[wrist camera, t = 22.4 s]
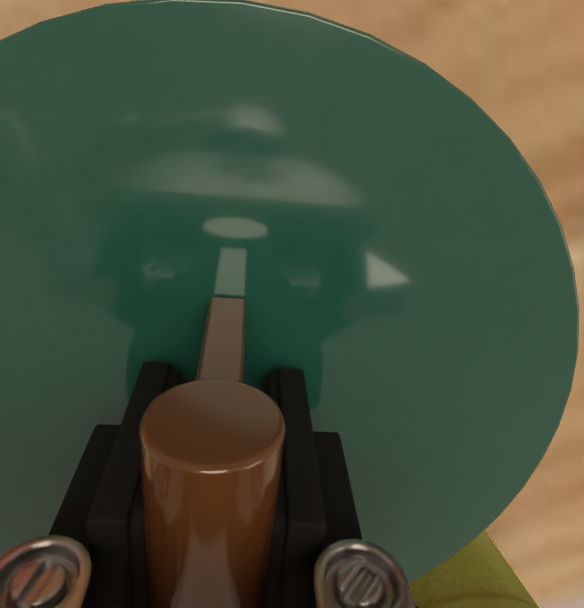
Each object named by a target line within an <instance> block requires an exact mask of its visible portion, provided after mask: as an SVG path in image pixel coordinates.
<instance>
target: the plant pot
mask: <svg viewBox="0 0 584 608" xmlns="http://www.w3.org/2000/svg"><path fill="white" fill-rule="evenodd" d="M408 584H409V588H410V591H411V594H412V598H413V601H414V604H415V605H416V606H417V607H419V608H539V607H538V606H537V604H536V603H535V602H534V600H533V599H532V597H531V596H530V594H529V593H528V592H527V590H526V589H525V587H524V586H523V585H522V583H521V582H520V580H519V579H518V577H517V576H516V575H515V573H514V572H513V570H512V569H511V567H510V566H509V564H508V563H507V562H506V560H505V559H504V557H503V556H502V554H501V553H500V551H499V550H498V549H497V547H496V546H495V544H494V543H493V541H492V540H491V538H490V537H489V536H488V534H487V533H486V531H485V530H484V531H483V532H482V533H481V534H480V535H479V536H478V537H476V538H475V539H474V540H473V541H472V542H471V543H469V544H468V545H467V546H465V547H464V548H463V549H461V550H460V551H459V552H457V553H456V554H455V555H453V556H452V557H451V558H450V559H448V560H447V561H446V562H444V563H442V564H441V565H439V566H437V567H436V568H434V569H433V570H431V571H429V572H428V573H426V574H425V575H423V576H421V577H420V578H418V579H416V580H414V581H412V582H410V583H408Z"/></svg>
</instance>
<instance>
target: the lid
mask: <svg viewBox="0 0 584 608" xmlns="http://www.w3.org/2000/svg"><path fill="white" fill-rule="evenodd" d="M578 336H579V305H578V297H577V289H576V281H575V274H574V267H573V264H572V260H571V257H570V254H569V250H568V247H567V244H566V240H565V237H564V233H563V230H562V227H561V224H560V221H559V219H558V217H557V215H556V213H555V211H554V209H553V207H552V205H551V203H550V201H549V199H548V197H547V195H546V192H545V190H544V188H543V186H542V184H541V182H540V180H539V179H538V177H537V176H536V175H535V173H534V172H533V170H532V169H531V167H530V166H529V165H528V163H527V162H526V160H525V159H524V157H523V156H522V155H521V153H520V152H519V150H518V149H517V147H516V146H515V145H514V143H513V142H512V140H511V139H510V138H509V137H508V136H507V135H506V134H505V133H504V132H503V130H502V129H501V128H500V127H499V126H498V125H497V124H496V123H495V122H494V121H493V120H492V119H491V118H490V117H489V116H488V115H487V114H486V113H485V112H484V111H483V110H482V109H481V108H480V107H479V106H478V105H477V104H476V103H475V102H474V101H473V100H472V99H471V98H470V97H469V96H467V95H466V94H465V93H463V92H462V91H461V90H459V89H458V88H457V87H455V86H454V85H453V84H451V83H450V82H449V81H447V80H446V79H445V78H443V77H442V76H441V75H439V74H438V73H437V72H435V71H434V70H433V69H431V68H430V67H429V66H427V65H426V64H425V63H423V62H421V61H419V60H417V59H415V58H413V57H412V56H410V55H408V54H406V53H404V52H402V51H400V50H399V49H397V48H395V47H393V46H391V45H389V44H387V43H385V42H384V41H382V40H380V39H378V38H376V37H374V36H372V35H370V34H368V33H365V32H362V31H360V30H357V29H354V28H351V27H348V26H345V25H343V24H340V23H337V22H334V21H331V20H329V19H326V18H323V17H320V16H317V15H314V14H312V13H309V12H304V11H299V10H294V9H289V8H283V7H278V6H273V5H268V4H263V3H258V2H252V1H247V0H138V1H129V2H120V3H111V4H104V5H100V6H97V7H93V8H89V9H86V10H82V11H78V12H75V13H71V14H67V15H64V16H60V17H56V18H53V19H49V20H45V21H42V22H39V23H37V24H35V25H32V26H30V27H28V28H26V29H24V30H21V31H19V32H17V33H15V34H13V35H10V36H8V37H6V38H4V39H2V40H0V558H1V557H2V556H3V555H4V554H5V553H6V552H7V551H9V550H10V549H12V548H14V547H16V546H17V545H19V544H21V543H23V542H25V541H28V540H31V539H34V538H37V537H40V536H48V535H49V532H50V530H51V528H52V525H53V523H54V521H55V518H56V516H57V514H58V511H59V509H60V507H61V504H62V502H63V500H64V497H65V495H66V492H67V490H68V488H69V485H70V483H71V481H72V478H73V476H74V474H75V471H76V469H77V467H78V464H79V462H80V460H81V457H82V455H83V453H84V450H85V448H86V446H87V443H88V441H89V439H90V436H91V434H92V432H93V430H94V428H95V426H97V425H98V424H108V425H121V422H122V420H123V417H124V414H125V411H126V408H127V406H128V403H129V400H130V397H131V395H132V392H133V389H134V386H135V383H136V381H137V378H138V375H139V372H140V370H141V367H142V364H143V363H144V362H157V363H171V366H172V370H180V371H181V384H179V385H177V386H174V387H172V388H170V389H168V390H166V391H165V392H163V393H162V394H160V395H159V396H158V397H156V398H155V399H154V400H153V401H152V402H151V403H150V405H149V406H148V408H147V409H146V411H145V413H144V415H143V417H142V420H141V423H140V453H141V475H142V497H143V519H144V539H145V561H146V583H147V606H148V608H264V605H265V597H266V588H267V579H268V571H269V562H270V553H271V545H272V537H273V530H274V523H275V517H276V508H277V499H278V491H279V482H280V474H281V465H282V456H283V448H284V439H285V421H284V418H283V415H282V412H281V410H280V408H279V407H278V405H277V404H276V402H275V401H274V400H273V399H272V398H271V397H270V396H269V395H267V394H266V384H267V375H268V374H271V375H277V369H278V368H288V369H303V370H304V375H305V382H306V389H307V396H308V402H309V409H310V416H311V423H312V430H313V431H318V432H338V434H339V435H340V439H341V443H342V447H343V452H344V456H345V461H346V466H347V470H348V475H349V480H350V484H351V489H352V493H353V498H354V503H355V507H356V512H357V516H358V521H359V526H360V530H361V535H362V540H366V541H369V542H371V543H374V544H376V545H379V546H380V547H382V548H383V549H384V550H386V551H387V552H389V553H390V554H391V555H392V556H393V557H394V558H395V559H396V561H397V562H398V563H399V564H400V565H401V567H402V569H403V572H404V574H405V576H406V578H407V581H408V583H410V582H412V581H414V580H416V579H418V578H420V577H421V576H423V575H425V574H426V573H428V572H429V571H431V570H433V569H434V568H436V567H437V566H439V565H441V564H442V563H444V562H446V561H447V560H448V559H450V558H451V557H452V556H453V555H455V554H456V553H457V552H459V551H460V550H461V549H463V548H464V547H465V546H467V545H468V544H469V543H471V542H472V541H473V540H474V539H475V538H476V537H478V536H479V535H480V534H481V533H482V532H483V531H484V530H485V529H486V528H487V527H488V526H489V525H490V524H491V523H492V522H493V521H495V520H496V519H497V518H498V517H499V516H500V515H501V513H502V512H503V511H504V510H505V509H506V508H507V506H508V505H509V504H510V503H511V502H512V501H513V499H514V498H515V497H516V496H517V495H518V493H519V492H520V491H521V490H522V489H523V487H524V486H525V484H526V483H527V481H528V480H529V478H530V477H531V475H532V474H533V472H534V471H535V469H536V468H537V466H538V465H539V463H540V462H541V460H542V459H543V457H544V455H545V453H546V451H547V449H548V447H549V445H550V443H551V441H552V439H553V437H554V435H555V433H556V431H557V429H558V426H559V424H560V421H561V418H562V415H563V412H564V409H565V406H566V403H567V400H568V397H569V394H570V391H571V387H572V382H573V376H574V371H575V365H576V360H577V354H578Z"/></svg>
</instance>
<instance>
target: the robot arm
mask: <svg viewBox="0 0 584 608" xmlns="http://www.w3.org/2000/svg"><path fill="white" fill-rule="evenodd" d="M179 384H181V371H180V370H172V366H171V363H157V362H144V363H143V364H142V367H141V370H140V372H139V375H138V378H137V381H136V383H135V386H134V389H133V392H132V395H131V397H130V400H129V403H128V406H127V408H126V411H125V414H124V417H123V420H122V422H121V425H108V424H98V425H97V426H95V428H94V430H93V432H92V434H91V436H90V439H89V441H88V443H87V446H86V448H85V450H84V453H83V455H82V457H81V460H80V462H79V464H78V467H77V469H76V471H75V474H74V476H73V478H72V481H71V483H70V485H69V488H68V490H67V492H66V495H65V497H64V500H63V502H62V504H61V507H60V509H59V511H58V514H57V516H56V518H55V521H54V523H53V525H52V528H51V530H50V532H49V535H48V536H40V537H37V538H34V539H31V540H28V541H25V542H23V543H21V544H19V545H17V546H16V547H14V548H12V549H10V550H9V551H7V552H6V553H5V554H4V555H3V556H2V557H1V558H0V608H148V606H147V583H146V561H145V539H144V519H143V497H142V475H141V453H140V423H141V420H142V417H143V415H144V413H145V411H146V409H147V408H148V406H149V405H150V403H151V402H152V401H153V400H154V399H155V398H156V397H158V396H159V395H160V394H162V393H163V392H165V391H166V390H168V389H170V388H172V387H174V386H177V385H179ZM266 394H267V395H269V396H270V397H271V398H272V399H273V400H274V401H275V402H276V404H277V405H278V407H279V408H280V410H281V412H282V415H283V418H284V421H285V439H284V448H283V456H282V465H281V474H280V482H279V491H278V499H277V508H276V517H275V523H274V530H273V537H272V545H271V553H270V562H269V571H268V579H267V588H266V597H265V605H264V608H419V607H417V606H416V605H415V604H414V601H413V598H412V594H411V591H410V588H409V584H408V581H407V578H406V576H405V574H404V572H403V569H402V567H401V565H400V564H399V563H398V562H397V561H396V559H395V558H394V557H393V556H392V555H391V554H390V553H389V552H387V551H386V550H384V549H383V548H382V547H380V546H379V545H376V544H374V543H371V542H369V541H366V540H362V535H361V530H360V526H359V521H358V516H357V512H356V507H355V503H354V498H353V493H352V489H351V484H350V480H349V475H348V470H347V466H346V461H345V456H344V452H343V447H342V443H341V439H340V435H339V434H338V432H318V431H313V430H312V423H311V416H310V409H309V402H308V396H307V389H306V382H305V375H304V370H303V369H288V368H278V369H277V375H271V374H268V375H267V384H266Z"/></svg>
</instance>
